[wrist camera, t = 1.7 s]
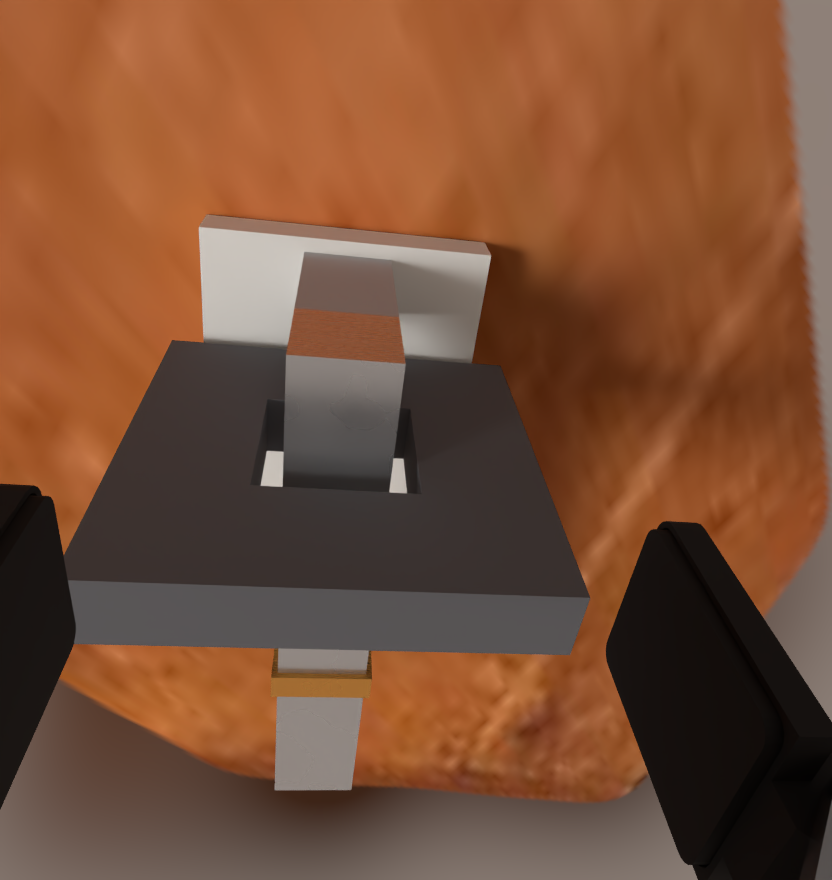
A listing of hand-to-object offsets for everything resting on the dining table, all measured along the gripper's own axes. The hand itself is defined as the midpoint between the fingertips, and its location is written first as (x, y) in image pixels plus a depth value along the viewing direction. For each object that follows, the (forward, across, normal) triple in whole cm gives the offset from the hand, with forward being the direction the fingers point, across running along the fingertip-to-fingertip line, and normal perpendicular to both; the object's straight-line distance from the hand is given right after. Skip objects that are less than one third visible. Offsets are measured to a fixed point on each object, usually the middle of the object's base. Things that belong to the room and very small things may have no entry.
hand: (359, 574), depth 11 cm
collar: (+15, 0, +4) cm, 16 cm away
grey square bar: (+11, 0, +9) cm, 14 cm away
